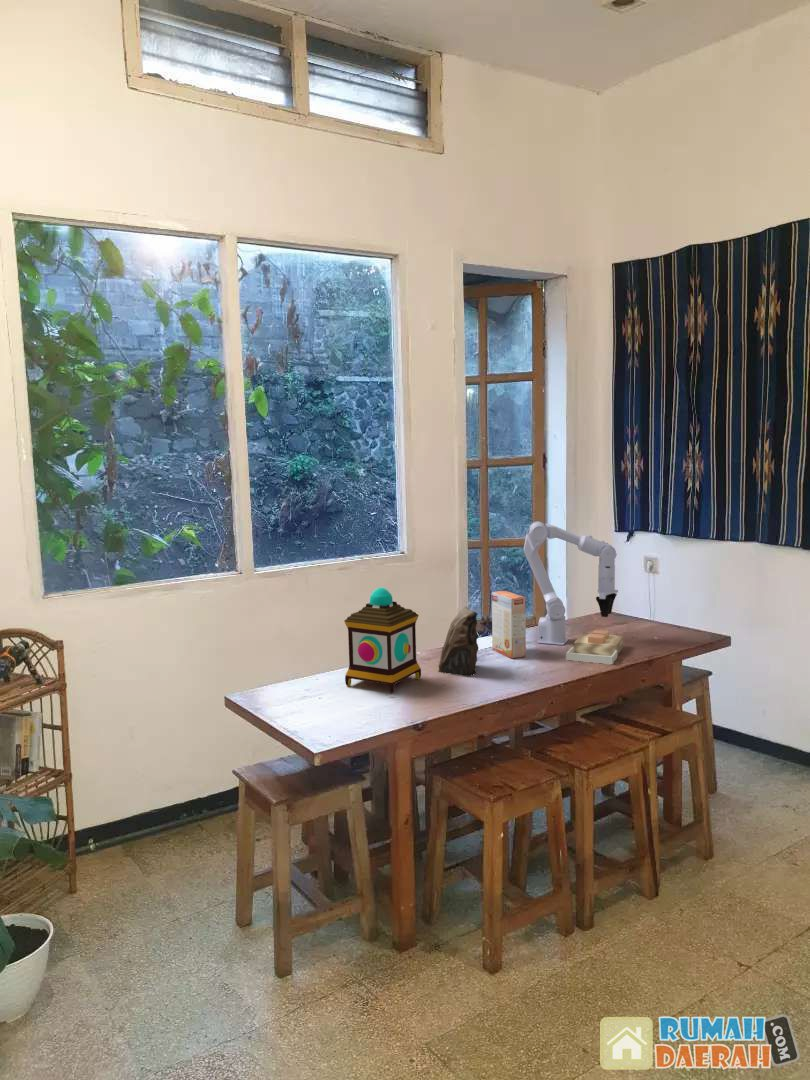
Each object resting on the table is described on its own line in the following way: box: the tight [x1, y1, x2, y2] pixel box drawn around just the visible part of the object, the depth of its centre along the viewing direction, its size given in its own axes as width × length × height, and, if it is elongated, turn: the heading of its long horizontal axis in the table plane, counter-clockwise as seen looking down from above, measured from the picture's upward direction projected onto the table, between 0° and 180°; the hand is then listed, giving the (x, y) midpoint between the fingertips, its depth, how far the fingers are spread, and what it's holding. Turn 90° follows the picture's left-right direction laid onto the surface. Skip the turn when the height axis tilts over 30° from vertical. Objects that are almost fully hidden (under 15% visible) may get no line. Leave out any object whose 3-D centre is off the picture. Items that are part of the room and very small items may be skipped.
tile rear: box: [591, 629, 610, 640], centre depth 287 cm, size 5×5×2 cm
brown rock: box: [437, 605, 479, 677], centre depth 264 cm, size 13×13×20 cm
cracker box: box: [491, 590, 527, 659], centre depth 283 cm, size 14×6×21 cm, turn 22°
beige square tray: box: [573, 632, 624, 656], centre depth 285 cm, size 14×14×4 cm
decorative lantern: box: [344, 587, 422, 694], centre depth 253 cm, size 20×20×30 cm
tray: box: [565, 646, 618, 665], centre depth 274 cm, size 15×9×2 cm, turn 65°
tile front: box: [588, 634, 606, 644], centre depth 281 cm, size 5×5×2 cm
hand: (606, 615), depth 294 cm, fingers open, 5 cm apart
